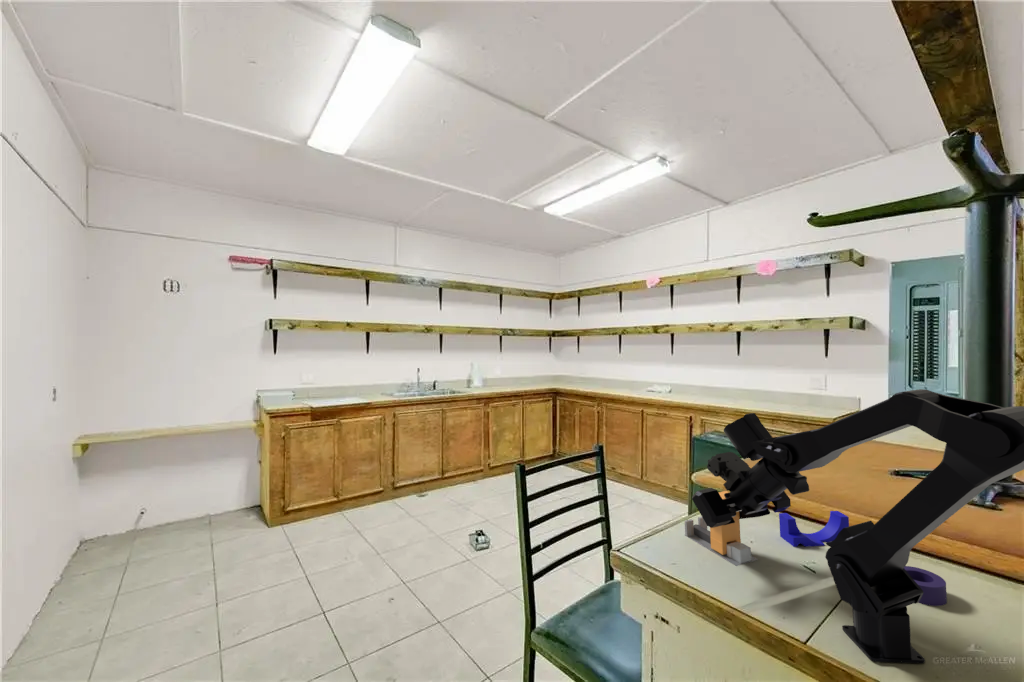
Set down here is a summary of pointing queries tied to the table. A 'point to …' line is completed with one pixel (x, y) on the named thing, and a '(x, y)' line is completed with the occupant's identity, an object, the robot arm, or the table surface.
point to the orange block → (725, 533)
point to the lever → (929, 586)
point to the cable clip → (826, 534)
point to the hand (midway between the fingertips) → (719, 519)
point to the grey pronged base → (701, 535)
